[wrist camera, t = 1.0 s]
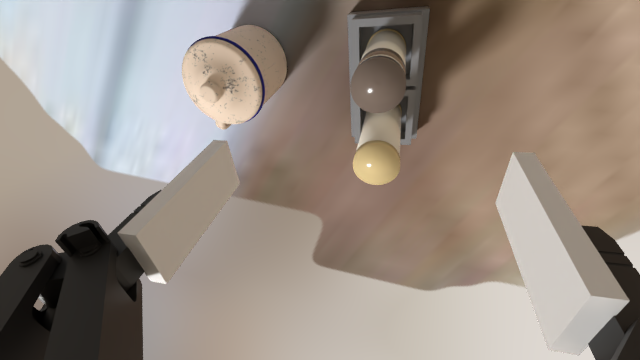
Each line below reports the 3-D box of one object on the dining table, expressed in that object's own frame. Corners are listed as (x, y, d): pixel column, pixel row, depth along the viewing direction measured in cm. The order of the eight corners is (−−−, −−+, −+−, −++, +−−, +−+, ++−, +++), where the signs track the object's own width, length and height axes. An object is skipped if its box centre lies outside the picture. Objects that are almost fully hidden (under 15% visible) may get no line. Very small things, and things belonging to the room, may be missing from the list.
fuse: (366, 95, 35) (352, 145, 26) (402, 94, 34) (401, 146, 25) (366, 126, 37) (353, 183, 28) (400, 127, 36) (398, 186, 27)
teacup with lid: (230, 6, 35) (167, 24, 25) (300, 44, 35) (263, 74, 26) (212, 95, 42) (159, 132, 33) (270, 124, 43) (233, 169, 34)
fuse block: (350, 12, 32) (344, 17, 29) (428, 6, 30) (431, 11, 27) (353, 129, 40) (349, 144, 37) (415, 131, 38) (416, 146, 35)
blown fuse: (366, 29, 31) (349, 60, 21) (407, 26, 30) (408, 57, 20) (366, 69, 33) (351, 113, 24) (404, 68, 32) (403, 113, 23)
